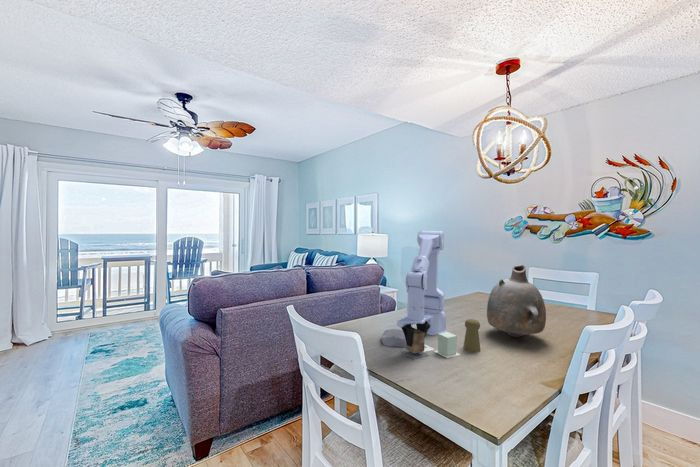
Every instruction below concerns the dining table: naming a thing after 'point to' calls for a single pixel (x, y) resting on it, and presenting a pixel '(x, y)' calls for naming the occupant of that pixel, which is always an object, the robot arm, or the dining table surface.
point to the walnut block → (417, 342)
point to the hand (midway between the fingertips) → (414, 344)
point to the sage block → (447, 343)
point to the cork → (472, 336)
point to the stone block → (394, 338)
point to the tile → (446, 356)
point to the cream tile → (427, 348)
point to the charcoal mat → (414, 354)
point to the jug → (516, 305)
